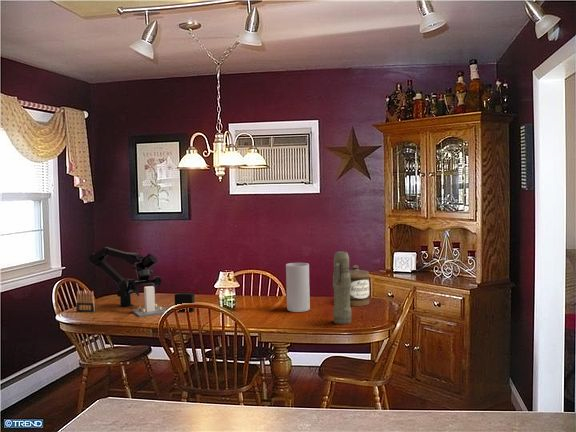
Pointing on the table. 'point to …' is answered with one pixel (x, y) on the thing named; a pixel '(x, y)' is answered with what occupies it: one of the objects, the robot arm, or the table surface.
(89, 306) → the ammunition clip
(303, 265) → the cylinder vase
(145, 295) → the cream block
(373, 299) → the table surface
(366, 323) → the table surface
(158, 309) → the mount plate
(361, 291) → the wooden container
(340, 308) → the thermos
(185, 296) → the electronic device
